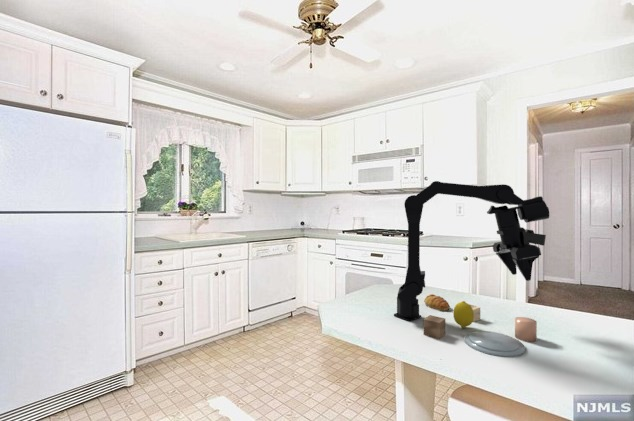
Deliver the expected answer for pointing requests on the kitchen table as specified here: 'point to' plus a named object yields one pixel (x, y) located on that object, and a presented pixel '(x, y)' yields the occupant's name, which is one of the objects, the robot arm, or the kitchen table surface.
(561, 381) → the kitchen table surface
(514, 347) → the plate
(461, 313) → the lemon
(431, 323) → the walnut block
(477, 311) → the beech block
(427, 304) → the pastry
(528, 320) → the pink cylinder
